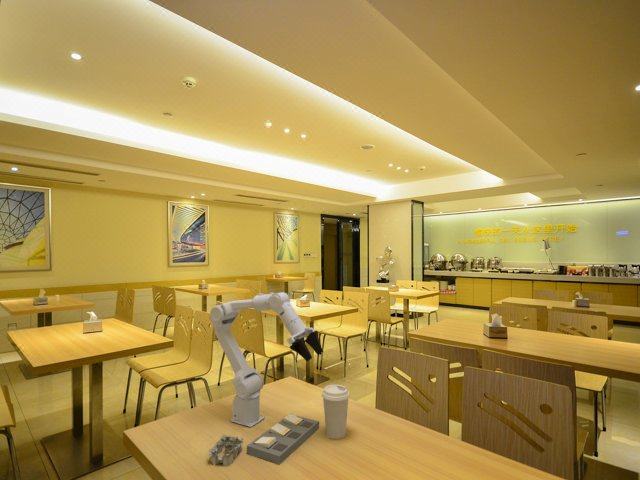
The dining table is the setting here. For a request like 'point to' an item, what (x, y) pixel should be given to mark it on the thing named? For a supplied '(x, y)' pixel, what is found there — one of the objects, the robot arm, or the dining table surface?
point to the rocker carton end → (265, 442)
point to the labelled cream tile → (293, 420)
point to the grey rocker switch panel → (284, 441)
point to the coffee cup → (335, 410)
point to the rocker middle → (279, 430)
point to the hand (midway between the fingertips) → (315, 356)
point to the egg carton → (228, 444)
